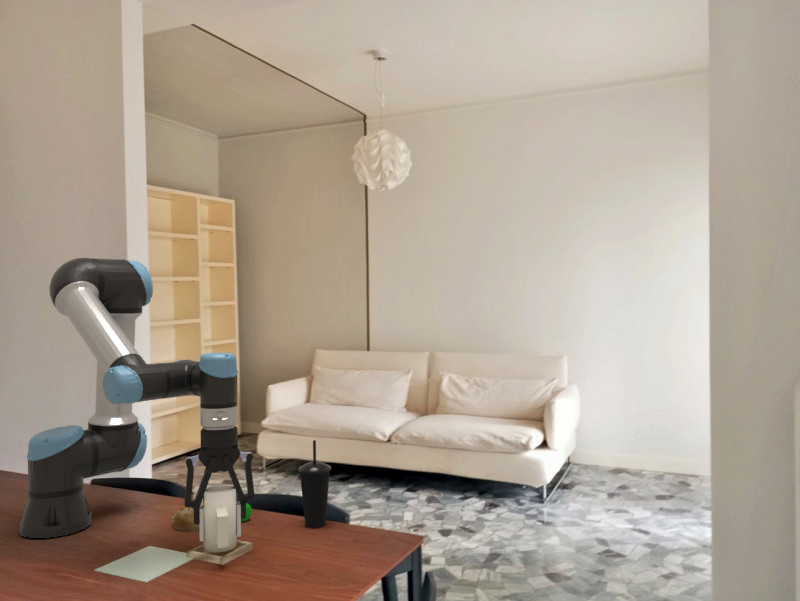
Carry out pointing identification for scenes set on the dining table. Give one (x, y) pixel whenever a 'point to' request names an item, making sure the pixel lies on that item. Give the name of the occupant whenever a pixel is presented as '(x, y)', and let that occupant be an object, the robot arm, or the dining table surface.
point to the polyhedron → (247, 512)
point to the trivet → (146, 564)
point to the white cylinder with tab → (220, 518)
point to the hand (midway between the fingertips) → (220, 536)
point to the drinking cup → (314, 491)
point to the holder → (220, 553)
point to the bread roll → (185, 519)
